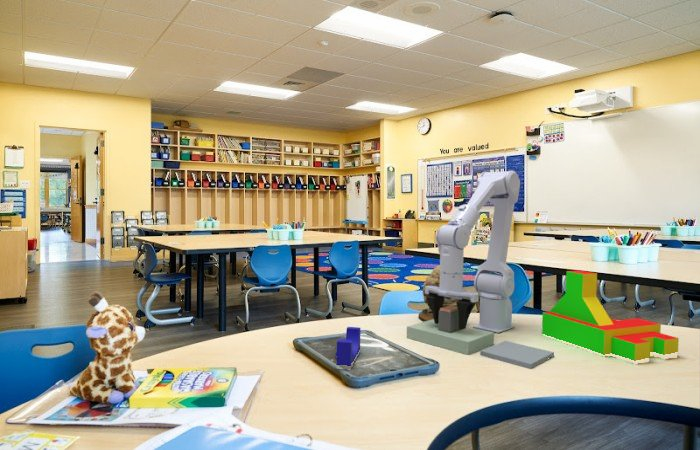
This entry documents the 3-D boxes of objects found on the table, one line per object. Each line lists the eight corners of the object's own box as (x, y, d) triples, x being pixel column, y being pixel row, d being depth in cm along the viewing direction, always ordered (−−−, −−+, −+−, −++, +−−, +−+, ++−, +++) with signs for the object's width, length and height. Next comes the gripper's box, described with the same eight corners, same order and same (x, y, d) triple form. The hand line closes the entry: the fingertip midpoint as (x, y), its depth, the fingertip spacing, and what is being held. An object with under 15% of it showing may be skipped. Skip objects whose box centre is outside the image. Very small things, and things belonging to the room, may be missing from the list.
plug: (449, 337, 122) (450, 305, 122) (460, 340, 120) (461, 307, 119) (437, 341, 119) (438, 308, 118) (449, 344, 116) (450, 310, 116)
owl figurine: (478, 326, 134) (480, 267, 133) (446, 331, 129) (447, 270, 128) (439, 312, 150) (440, 259, 149) (408, 316, 145) (409, 261, 144)
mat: (505, 344, 117) (505, 340, 117) (553, 356, 108) (554, 352, 108) (480, 355, 109) (480, 350, 108) (530, 368, 100) (531, 364, 100)
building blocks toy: (626, 367, 103) (630, 284, 102) (541, 336, 126) (544, 268, 125) (684, 358, 110) (688, 280, 109) (593, 330, 133) (596, 266, 132)
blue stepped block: (341, 351, 110) (341, 326, 110) (360, 353, 109) (360, 327, 109) (329, 369, 98) (329, 341, 98) (350, 371, 97) (351, 342, 97)
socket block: (433, 329, 130) (434, 318, 130) (493, 344, 117) (494, 332, 117) (406, 337, 121) (406, 326, 121) (467, 354, 109) (468, 342, 108)
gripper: (418, 270, 121) (417, 322, 121) (468, 277, 110) (466, 334, 111) (434, 268, 126) (433, 318, 126) (483, 274, 115) (481, 329, 116)
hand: (449, 325), depth 119 cm, fingers open, 7 cm apart
